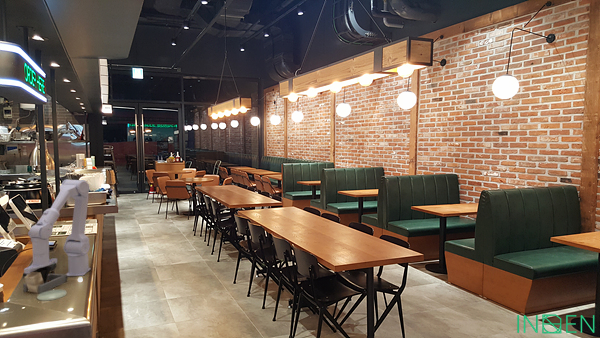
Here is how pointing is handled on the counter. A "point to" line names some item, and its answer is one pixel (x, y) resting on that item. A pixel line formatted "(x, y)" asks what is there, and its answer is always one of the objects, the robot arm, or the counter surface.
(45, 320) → the counter surface
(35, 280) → the maple block
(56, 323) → the counter surface
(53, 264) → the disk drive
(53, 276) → the slot rack
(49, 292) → the saucer
